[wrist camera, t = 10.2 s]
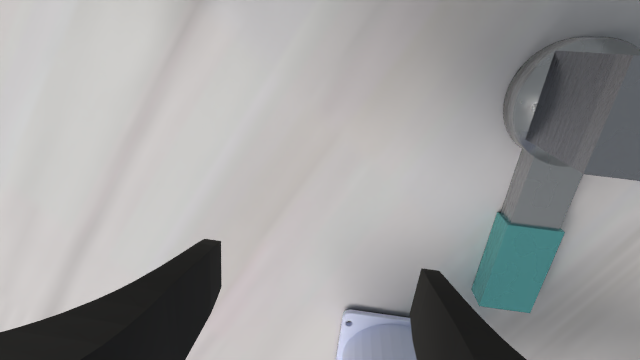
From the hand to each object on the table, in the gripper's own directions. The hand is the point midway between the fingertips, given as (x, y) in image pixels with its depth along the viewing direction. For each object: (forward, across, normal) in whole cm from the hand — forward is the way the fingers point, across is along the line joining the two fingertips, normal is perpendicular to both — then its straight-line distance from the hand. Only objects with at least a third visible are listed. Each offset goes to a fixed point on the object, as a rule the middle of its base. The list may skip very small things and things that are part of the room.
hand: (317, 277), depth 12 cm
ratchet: (+10, -12, -1) cm, 16 cm away
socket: (+8, -12, -6) cm, 16 cm away
